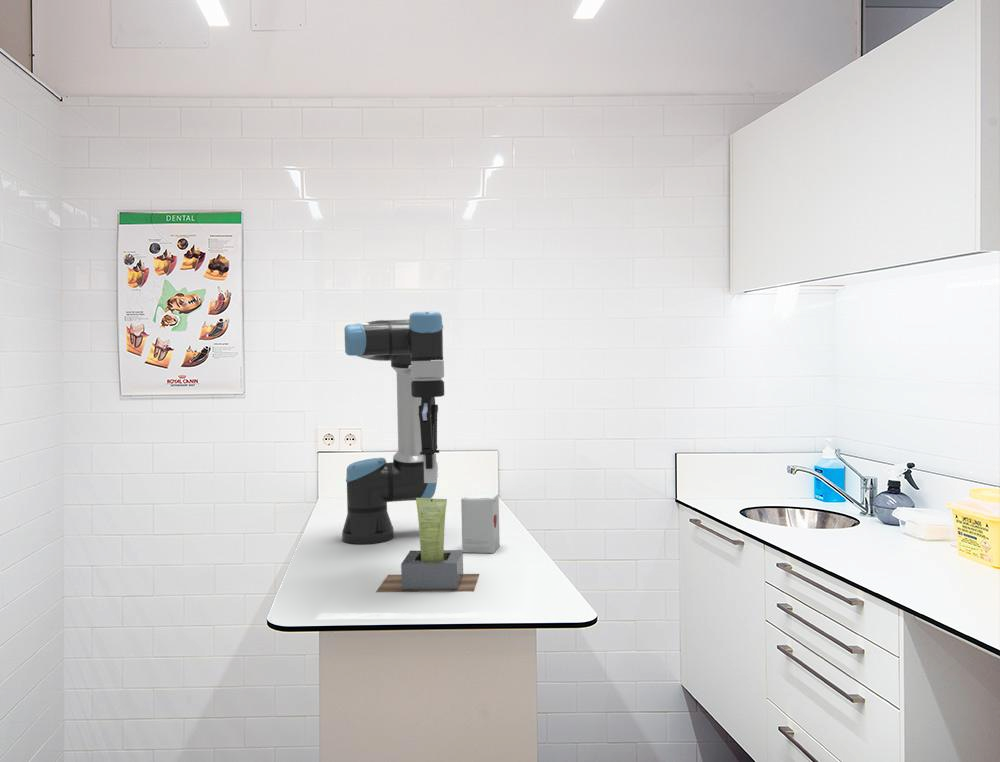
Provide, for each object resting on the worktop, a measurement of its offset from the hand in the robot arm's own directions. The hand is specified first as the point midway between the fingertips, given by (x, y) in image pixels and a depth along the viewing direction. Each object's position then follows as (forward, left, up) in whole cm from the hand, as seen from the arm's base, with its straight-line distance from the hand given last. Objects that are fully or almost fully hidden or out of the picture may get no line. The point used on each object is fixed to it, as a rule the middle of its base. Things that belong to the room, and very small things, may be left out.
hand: (430, 482), depth 182 cm
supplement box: (-36, +8, -25) cm, 44 cm away
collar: (0, 0, -23) cm, 23 cm away
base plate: (0, -1, -24) cm, 24 cm away
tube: (0, 0, -23) cm, 23 cm away
